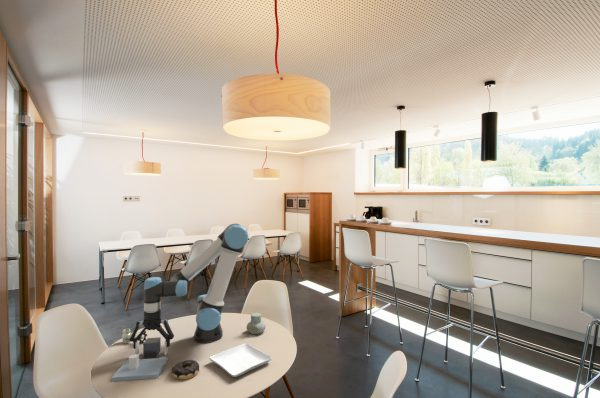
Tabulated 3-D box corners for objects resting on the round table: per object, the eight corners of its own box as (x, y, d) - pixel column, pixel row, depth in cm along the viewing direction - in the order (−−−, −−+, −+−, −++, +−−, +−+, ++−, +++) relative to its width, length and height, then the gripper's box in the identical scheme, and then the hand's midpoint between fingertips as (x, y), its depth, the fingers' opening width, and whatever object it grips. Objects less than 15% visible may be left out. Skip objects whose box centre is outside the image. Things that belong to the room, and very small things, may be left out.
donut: (190, 364, 140) (190, 355, 140) (205, 373, 133) (205, 363, 133) (166, 374, 132) (166, 365, 132) (181, 384, 124) (181, 374, 124)
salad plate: (273, 364, 140) (273, 356, 141) (233, 383, 125) (233, 375, 125) (246, 348, 155) (246, 342, 155) (207, 364, 140) (207, 356, 140)
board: (167, 360, 143) (167, 346, 143) (157, 377, 129) (157, 362, 129) (126, 363, 140) (126, 349, 140) (111, 381, 126) (111, 365, 126)
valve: (118, 344, 159) (138, 346, 157) (118, 332, 159) (139, 333, 157) (127, 339, 166) (147, 340, 164) (127, 327, 166) (147, 328, 164)
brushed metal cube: (160, 351, 152) (160, 337, 152) (156, 357, 146) (156, 342, 146) (147, 352, 151) (147, 338, 151) (143, 358, 145) (143, 343, 145)
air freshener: (267, 330, 178) (267, 313, 178) (262, 336, 170) (262, 318, 170) (250, 328, 181) (250, 311, 181) (244, 333, 173) (244, 316, 173)
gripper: (180, 306, 154) (180, 349, 154) (128, 308, 151) (127, 352, 150) (176, 311, 147) (176, 356, 146) (121, 313, 143) (121, 360, 143)
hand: (151, 354), depth 148 cm, fingers open, 12 cm apart
